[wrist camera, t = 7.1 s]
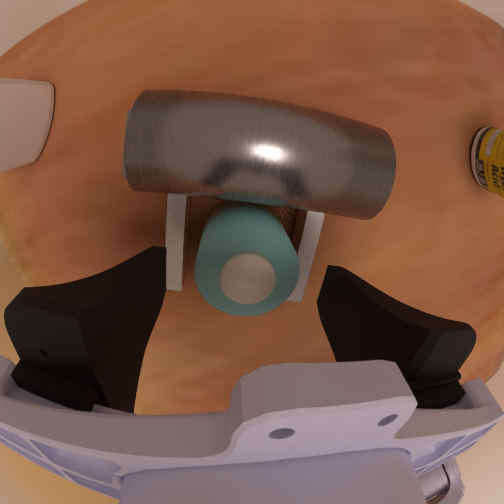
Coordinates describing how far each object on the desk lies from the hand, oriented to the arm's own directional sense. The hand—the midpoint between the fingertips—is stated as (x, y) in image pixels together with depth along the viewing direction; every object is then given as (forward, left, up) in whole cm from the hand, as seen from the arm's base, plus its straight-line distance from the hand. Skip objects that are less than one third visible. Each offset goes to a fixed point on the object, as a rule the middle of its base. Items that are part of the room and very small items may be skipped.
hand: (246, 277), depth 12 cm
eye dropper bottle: (+7, +15, -6) cm, 17 cm away
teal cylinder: (0, 0, -6) cm, 6 cm away
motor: (+2, 0, -5) cm, 6 cm away
